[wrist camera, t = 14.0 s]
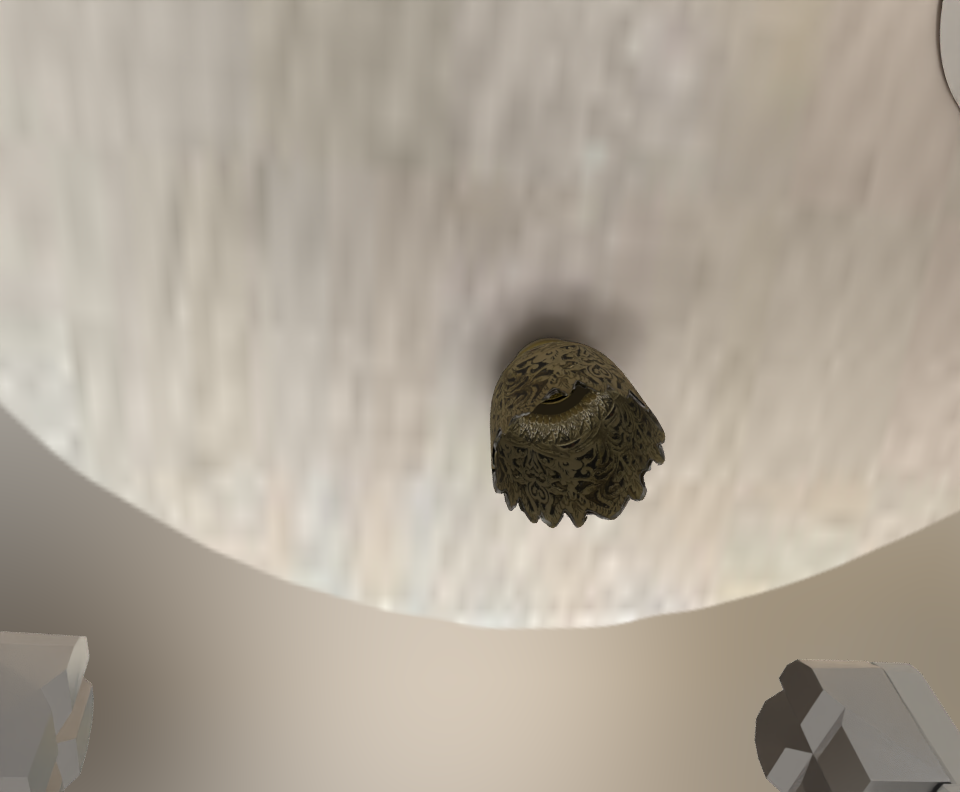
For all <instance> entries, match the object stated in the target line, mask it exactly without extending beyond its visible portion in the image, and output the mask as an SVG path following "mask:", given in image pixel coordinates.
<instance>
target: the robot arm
mask: <svg viewBox="0 0 960 792" xmlns="http://www.w3.org/2000/svg"><path fill="white" fill-rule="evenodd" d="M940 48H941V57H942V64H943V69H944V73H945V77H946V80H947V83H948V86H949V88H950V90H951V93H952V95H953V97H954V99H955V100H956V102H957V104H958V106H959V108H960V0H943V4H942V11H941V22H940ZM88 660H89V651H88V644H87V638H86V637H84V636H69V635H53V634H36V633H19V632H3V631H0V792H64V789H65V788H66V787H67V786H68V785H69V784H70V783H72V782H73V781H74V780H75V779H76V778H77V777H78V776H79V775H80V772H81V769H82V765H83V762H84V759H85V755H86V751H87V748H88V742H89V737H90V730H91V725H92V719H93V687H92V684H91V683H90V682H88V681H87V680H86V679H85V678H84V677H83V676H84V673H85V670H86V667H87V663H88ZM779 679H780V682H781V685H782V688H783V690H782V691H781V692H779V693H777V694H776V695H774V696H773V697H771V698H769V699H768V700H766V701H765V703H764V705H763V707H762V708H761V710H760V713H759V714H758V716H757V718H756V730H755V744H756V749H757V754H758V759H759V761H760V764H761V766H762V769H763V772H764V774H765V777H766V779H768V780H769V782H771V783H772V784H773V785H774V786H775V787H776V788H777V789H778V790H779V791H780V792H960V732H959V731H958V729H957V727H956V726H955V725H954V723H953V721H952V720H951V718H950V717H949V715H948V713H947V712H946V710H945V709H944V707H943V706H942V704H941V703H940V701H939V700H938V698H937V696H936V695H935V693H934V692H933V690H932V689H931V687H930V686H929V684H928V683H927V681H926V680H925V678H924V677H923V675H922V674H921V673H920V671H918V670H917V669H916V668H915V667H913V666H912V665H911V664H910V663H888V662H887V663H886V662H867V661H849V660H848V661H847V660H795V661H794V662H792V663H790V664H788V665H787V666H786V668H785V669H784V671H783V672H782V674H781V676H780V677H779Z"/></svg>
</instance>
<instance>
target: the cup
mask: <svg viewBox="0 0 960 792" xmlns="http://www.w3.org/2000/svg"><path fill="white" fill-rule="evenodd" d="M490 434H491V466H492V475H493V486H494V490H495V492H496V493H500V492H501V494H502V493H504V496H505V502H506V504H507V507H508V509H509V510H510V511H512V510H513V509H514V508H515V507H516V505H517V503H518V504H519V507H520V509H521V511H523V512H524V513H525V514H526V516H527V517H528V519H529V520H530V521H531V522H532V523H537V522H538V519H540V518H541V520H542V521H543V522H544V523H546V524H547V525H548V526H549V527H551V528H554V527H556V526H557V525H558V524H559V522H560V521H561V519H562V518H563V516H564V515H563V514H564V513H566V514H567V515H568V516H569V518H570V519H571V521H572V522H573V524H574V525H575V527H576V528H578V527H581V526H582V525H583V524H584V522H585V521H586V519H587V516H586V514H587V515H596V516H597V517H599V518H601V519H607V520H614V519H616V518H617V517H618V516H619V515H620V514H621V513H622V511H623V510H624V508H625V507H626V505H627V503H628V501H629V500H630V499H632V500H634V501H640V500H643V499H644V497H645V495H646V492H647V489H646V487H645V482H644V477H643V476H644V474H645V473H646V472H647V471H650V470H651V463H652V461H655V462H656V463H658V465H662V464H663V462H664V461H665V455H664V451H663V448H662V446H661V444H663V443H664V441H665V433H664V431H663V429H662V427H661V425H660V423H659V422H658V420H657V418H656V417H655V415H654V414H653V413H652V411H651V410H650V409H649V407H648V406H647V405H646V403H645V402H644V400H643V399H642V398H641V396H640V395H639V394H638V392H637V391H636V389H635V388H634V387H633V385H632V384H631V383H630V381H629V380H628V379H627V377H626V376H625V375H624V374H623V373H622V371H621V370H620V369H619V368H618V367H617V366H616V365H615V364H614V363H613V362H612V361H611V360H610V359H608V358H607V357H606V356H605V355H604V354H602V353H601V352H599V351H597V350H595V349H593V348H591V347H589V346H586V345H583V344H580V343H575V342H566V341H564V340H561V339H557V338H543V339H538V340H536V341H533V342H531V343H529V344H528V345H526V346H525V347H524V348H523V349H522V350H521V351H520V352H519V353H518V354H517V356H516V358H515V360H514V361H512V362H511V363H510V364H509V366H508V367H507V368H506V369H505V371H504V372H503V373H502V375H501V377H500V379H499V381H498V383H497V385H496V387H495V390H494V394H493V398H492V403H491V413H490ZM585 516H586V517H585Z"/></svg>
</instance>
